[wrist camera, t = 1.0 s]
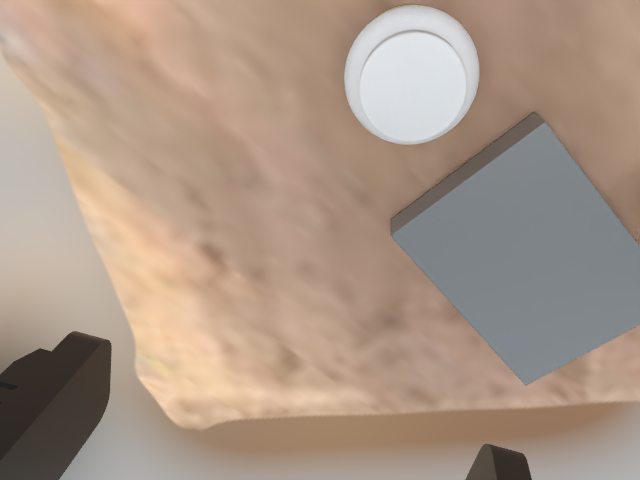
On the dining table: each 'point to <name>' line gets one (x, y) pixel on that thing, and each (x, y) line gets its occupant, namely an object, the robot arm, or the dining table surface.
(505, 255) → the block
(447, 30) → the supplement bottle
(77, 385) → the robot arm
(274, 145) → the dining table surface
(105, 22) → the dining table surface
